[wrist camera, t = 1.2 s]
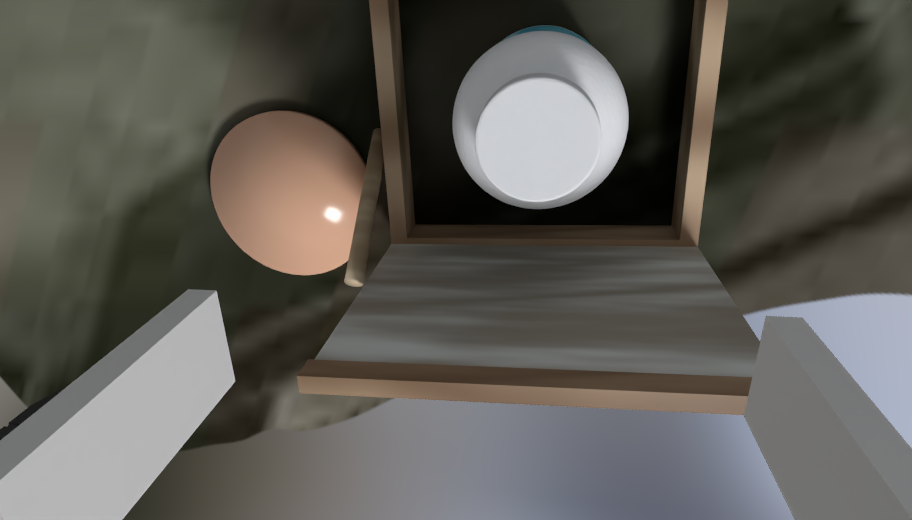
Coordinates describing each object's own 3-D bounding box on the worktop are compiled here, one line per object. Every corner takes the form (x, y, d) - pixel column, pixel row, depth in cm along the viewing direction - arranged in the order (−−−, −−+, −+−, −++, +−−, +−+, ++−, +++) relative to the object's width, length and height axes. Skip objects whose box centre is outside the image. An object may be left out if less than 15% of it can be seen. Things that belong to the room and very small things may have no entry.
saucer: (199, 112, 37) (193, 113, 36) (366, 107, 35) (363, 109, 35) (232, 270, 41) (228, 273, 41) (383, 272, 39) (380, 276, 39)
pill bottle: (502, 5, 32) (475, 0, 20) (628, 50, 32) (681, 73, 20) (460, 134, 35) (415, 198, 23) (575, 175, 35) (592, 262, 23)
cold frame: (358, -30, 32) (184, -71, 17) (723, -53, 30) (924, -127, 14) (384, 239, 39) (275, 391, 23) (689, 241, 36) (801, 417, 20)
